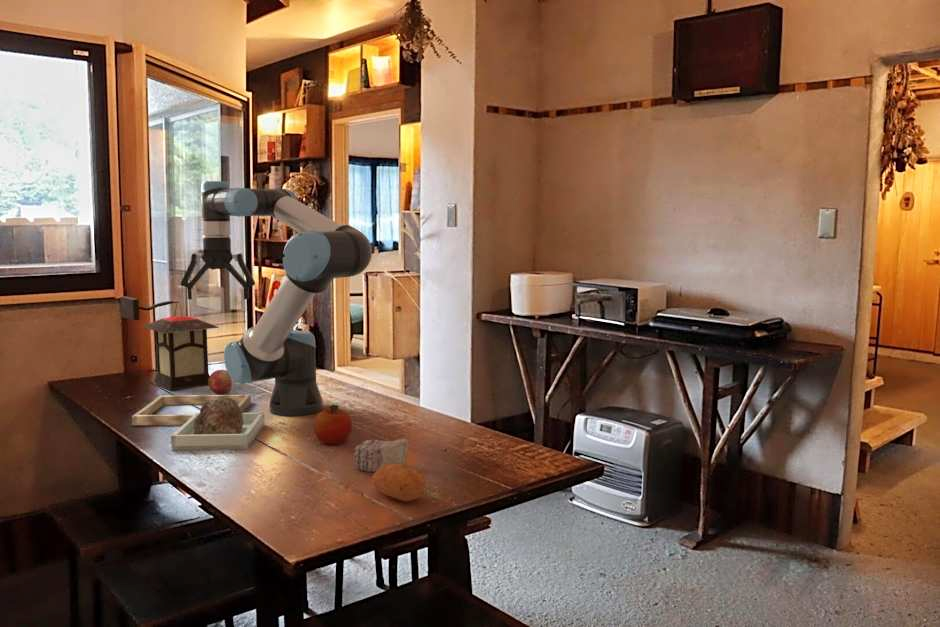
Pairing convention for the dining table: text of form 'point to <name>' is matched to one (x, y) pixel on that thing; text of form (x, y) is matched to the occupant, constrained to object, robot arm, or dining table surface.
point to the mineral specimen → (380, 454)
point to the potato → (399, 482)
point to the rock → (219, 418)
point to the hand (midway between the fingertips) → (219, 310)
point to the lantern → (176, 346)
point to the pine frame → (147, 419)
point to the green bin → (218, 435)
